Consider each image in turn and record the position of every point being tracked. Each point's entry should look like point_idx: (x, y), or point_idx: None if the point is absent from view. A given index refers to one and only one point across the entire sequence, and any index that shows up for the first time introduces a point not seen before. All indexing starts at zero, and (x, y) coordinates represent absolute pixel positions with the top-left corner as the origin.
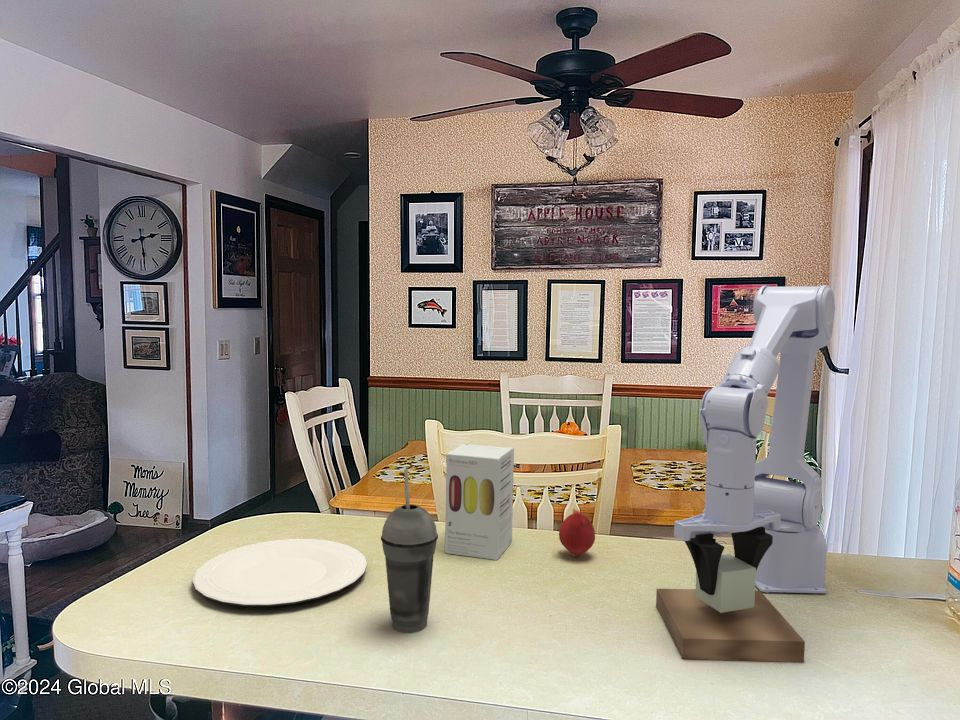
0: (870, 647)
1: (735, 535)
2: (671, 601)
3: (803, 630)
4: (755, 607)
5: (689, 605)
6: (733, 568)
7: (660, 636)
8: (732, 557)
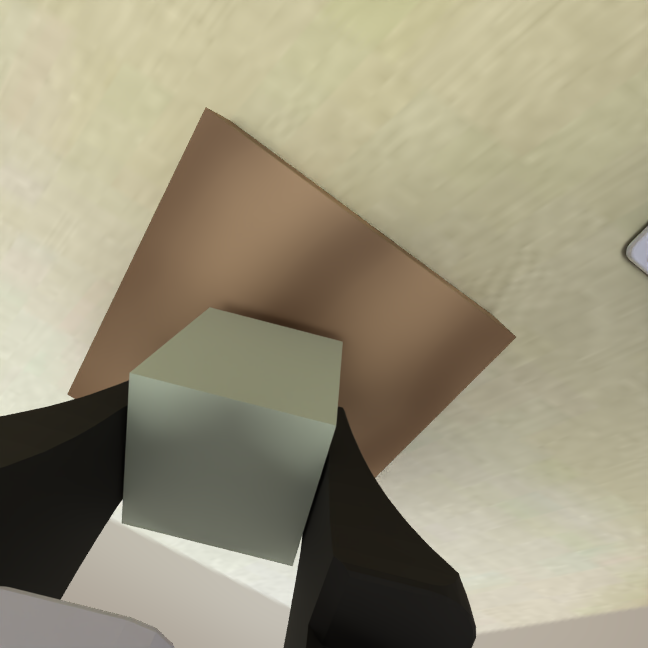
0: (494, 538)
1: (320, 569)
2: (181, 226)
3: (458, 438)
4: (381, 395)
5: (213, 281)
6: (201, 524)
7: (120, 272)
8: (309, 458)
